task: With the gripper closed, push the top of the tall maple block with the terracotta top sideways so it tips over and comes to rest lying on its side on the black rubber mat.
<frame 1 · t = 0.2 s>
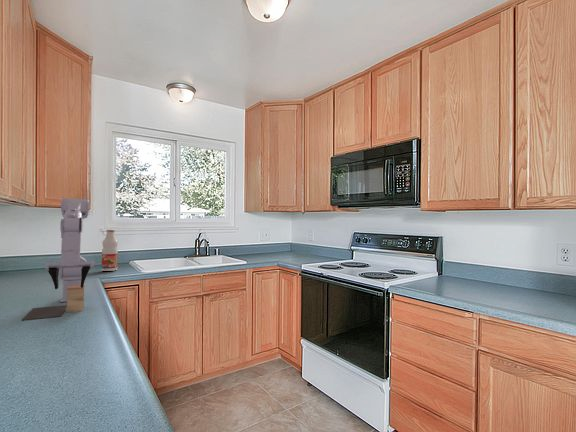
hand: (69, 287, 114), 10 cm above the worktop, tool pointing down, fingers open, 7 cm apart
maple block: (75, 309, 121), on the worktop
rubber mat: (46, 312, 117), on the worktop
fruit juice: (109, 271, 213), on the worktop
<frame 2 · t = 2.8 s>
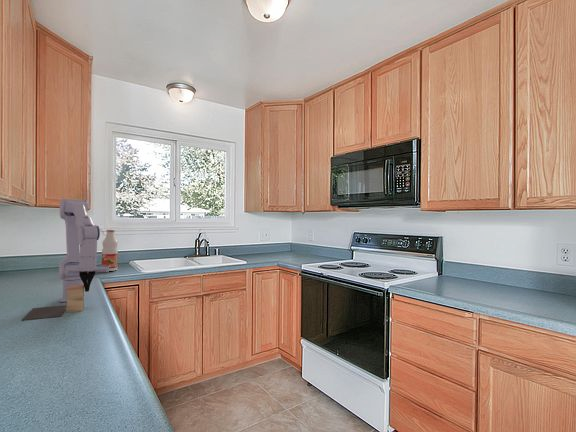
hand: (87, 291, 123), 7 cm above the worktop, tool pointing down, fingers closed
maple block: (75, 309, 121), on the worktop, touching gripper
everything else where it was.
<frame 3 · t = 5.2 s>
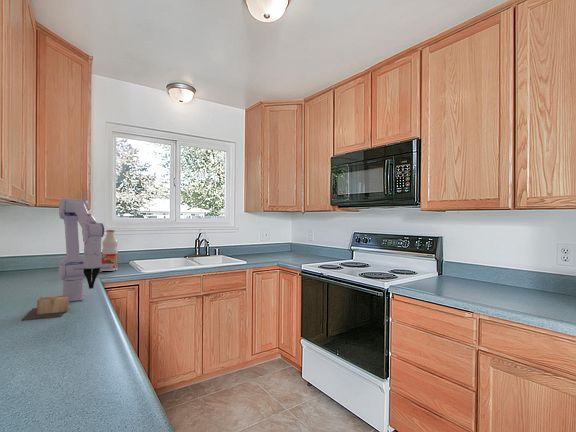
hand: (91, 288, 124), 8 cm above the worktop, tool pointing down, fingers closed
maple block: (68, 303, 120), point 3 cm above the worktop, tilted 90°, touching rubber mat
everything else where it was.
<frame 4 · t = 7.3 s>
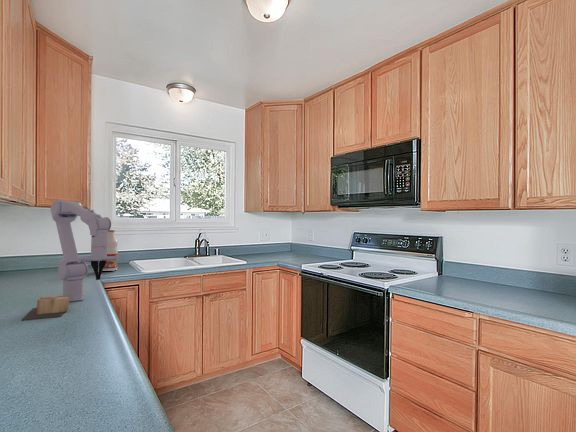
hand: (98, 279, 129), 10 cm above the worktop, tool pointing down, fingers closed
nothing on the worktop moved.
at the end: maple block tilted 90°; maple block touching rubber mat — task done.
